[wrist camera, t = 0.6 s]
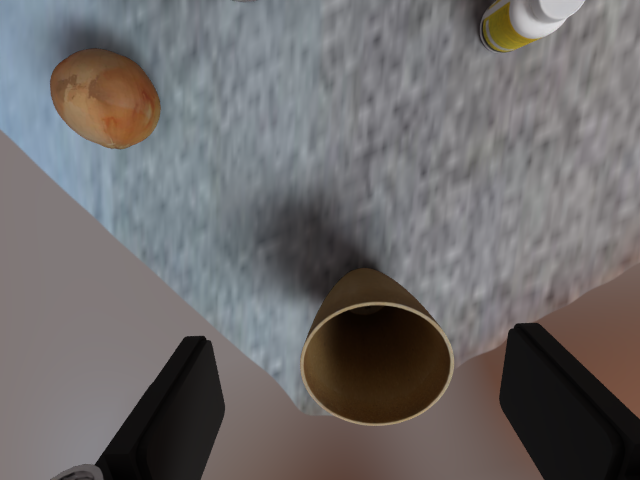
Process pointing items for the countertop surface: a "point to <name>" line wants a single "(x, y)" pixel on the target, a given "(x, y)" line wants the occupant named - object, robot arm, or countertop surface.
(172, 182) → the countertop surface
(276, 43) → the countertop surface
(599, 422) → the robot arm
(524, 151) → the countertop surface
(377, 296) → the plant pot
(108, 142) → the onion
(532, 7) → the supplement bottle
